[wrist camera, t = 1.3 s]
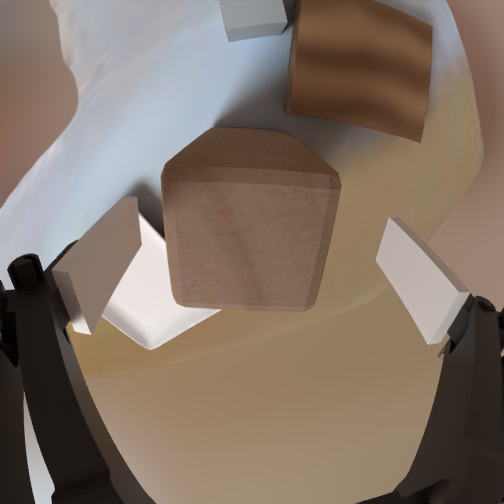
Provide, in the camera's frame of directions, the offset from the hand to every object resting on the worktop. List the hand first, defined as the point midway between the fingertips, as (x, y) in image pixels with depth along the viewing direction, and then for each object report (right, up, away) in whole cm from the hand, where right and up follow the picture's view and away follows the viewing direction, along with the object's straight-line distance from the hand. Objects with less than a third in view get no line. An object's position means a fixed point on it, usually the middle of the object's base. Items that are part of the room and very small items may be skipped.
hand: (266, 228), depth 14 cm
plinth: (+12, +22, +12) cm, 27 cm away
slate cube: (-1, +26, +9) cm, 27 cm away
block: (-1, +9, +19) cm, 21 cm away
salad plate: (-18, -5, +28) cm, 34 cm away
